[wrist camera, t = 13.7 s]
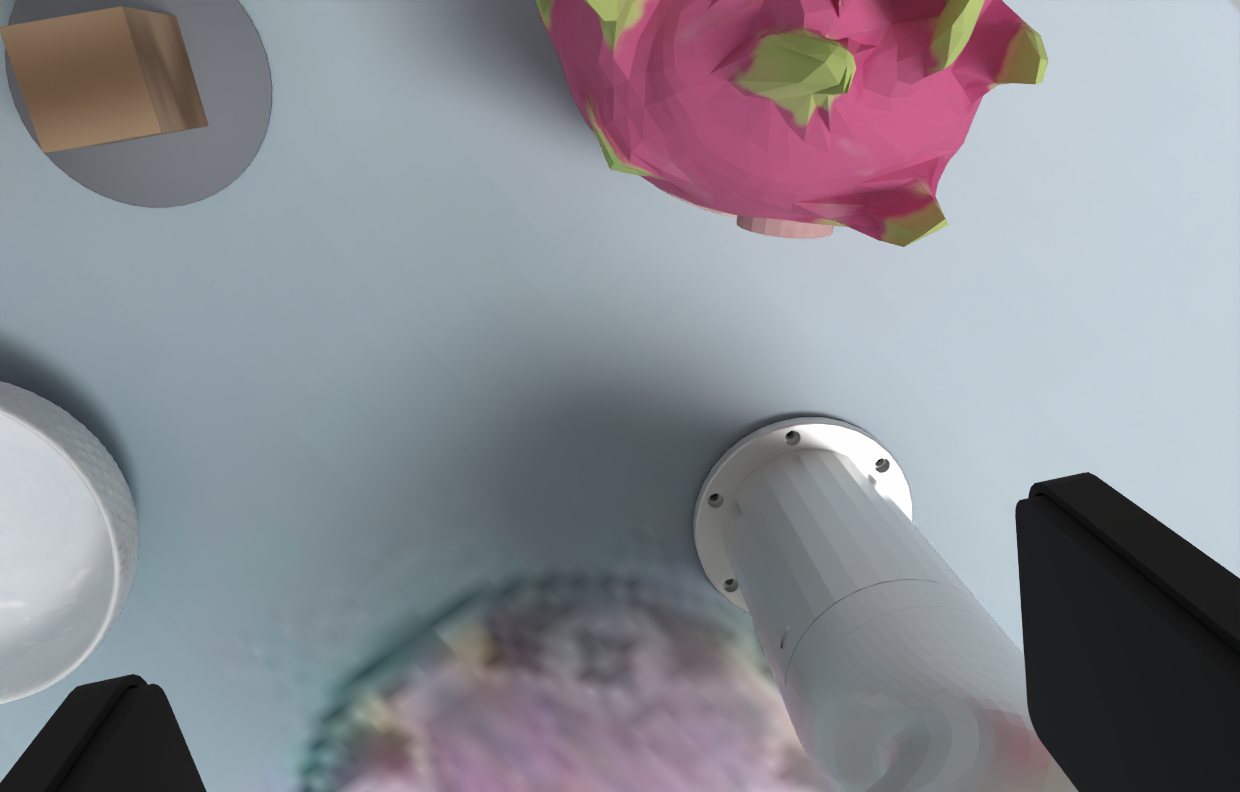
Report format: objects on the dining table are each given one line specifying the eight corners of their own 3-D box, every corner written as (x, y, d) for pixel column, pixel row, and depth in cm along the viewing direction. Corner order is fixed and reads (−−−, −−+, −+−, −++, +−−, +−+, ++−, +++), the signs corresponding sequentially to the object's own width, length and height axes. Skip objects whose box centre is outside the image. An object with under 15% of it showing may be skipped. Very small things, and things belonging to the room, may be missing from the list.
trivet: (304, 180, 47) (303, 180, 47) (65, 229, 47) (63, 229, 47) (225, -85, 43) (223, -85, 43) (-36, -31, 43) (-38, -32, 43)
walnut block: (208, 126, 46) (161, 132, 40) (105, 144, 45) (43, 153, 40) (176, 15, 44) (121, 6, 38) (69, 34, 44) (-2, 27, 38)
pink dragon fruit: (511, 159, 47) (463, 276, 19) (555, -141, 43) (578, -564, 15) (848, 221, 50) (1255, 408, 21) (920, -59, 46) (1540, -289, 17)
